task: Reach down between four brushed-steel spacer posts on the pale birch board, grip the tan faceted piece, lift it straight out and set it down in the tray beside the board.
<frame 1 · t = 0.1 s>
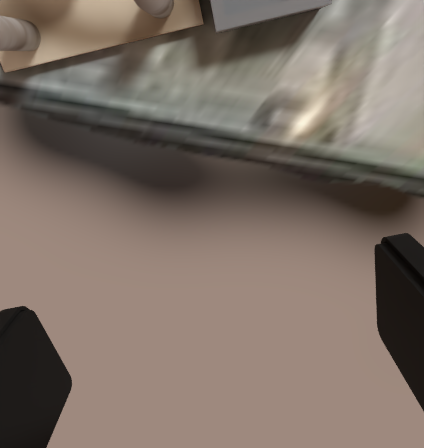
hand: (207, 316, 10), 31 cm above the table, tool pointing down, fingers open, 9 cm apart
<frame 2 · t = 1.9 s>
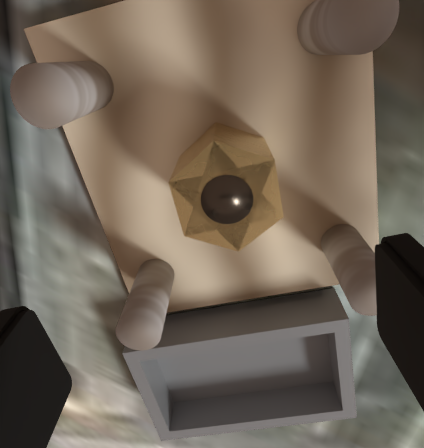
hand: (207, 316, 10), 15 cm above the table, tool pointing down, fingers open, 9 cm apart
tray: (242, 351, 30), on the table
spacer board: (226, 165, 23), on the table
tan faceted piece: (226, 170, 22), point 1 cm above the table, touching spacer board
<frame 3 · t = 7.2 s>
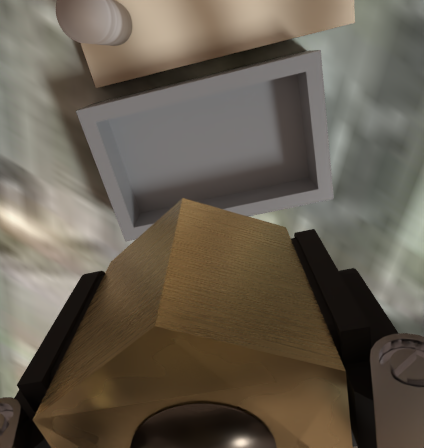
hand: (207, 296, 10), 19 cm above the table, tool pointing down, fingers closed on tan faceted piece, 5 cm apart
tray: (211, 145, 28), on the table
tan faceted piece: (207, 287, 11), point 19 cm above the table, touching gripper
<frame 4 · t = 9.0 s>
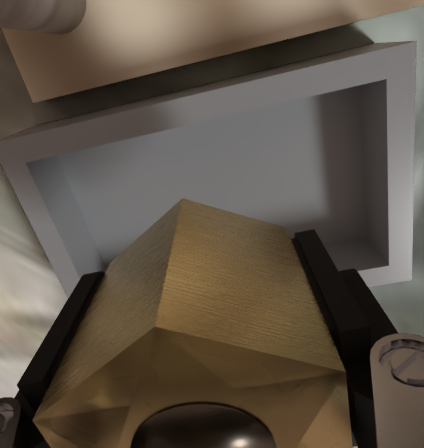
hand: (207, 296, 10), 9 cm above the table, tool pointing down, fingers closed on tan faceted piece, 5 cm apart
tray: (218, 188, 18), on the table
tan faceted piece: (207, 287, 11), point 8 cm above the table, touching gripper
when the fingers open (3 cm above the table, at t = 10.6 s): tan faceted piece drops 2 cm, resting on tray.
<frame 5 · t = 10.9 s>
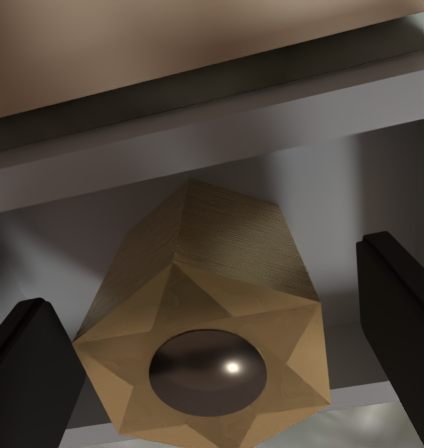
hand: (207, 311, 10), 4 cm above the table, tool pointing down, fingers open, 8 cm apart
tray: (209, 247, 13), on the table
tan faceted piece: (210, 258, 12), point 1 cm above the table, touching tray
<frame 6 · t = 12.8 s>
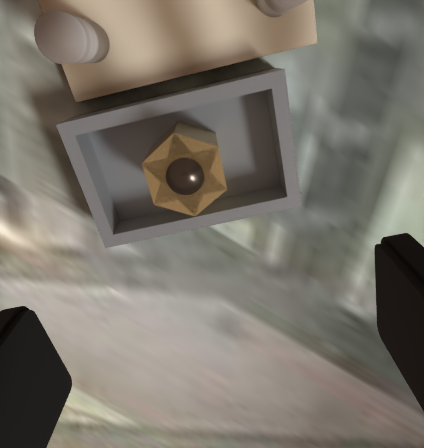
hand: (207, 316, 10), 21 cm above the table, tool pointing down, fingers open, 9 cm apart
tray: (187, 155, 29), on the table
tan faceted piece: (187, 158, 28), point 1 cm above the table, touching tray
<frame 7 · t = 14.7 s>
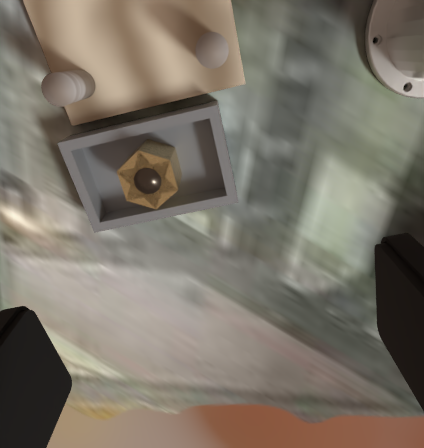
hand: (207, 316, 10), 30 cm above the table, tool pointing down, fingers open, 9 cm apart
tray: (156, 164, 39), on the table
tan faceted piece: (155, 166, 38), point 1 cm above the table, touching tray
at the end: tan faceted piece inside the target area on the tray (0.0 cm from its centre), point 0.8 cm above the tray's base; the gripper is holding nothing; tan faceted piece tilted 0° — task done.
